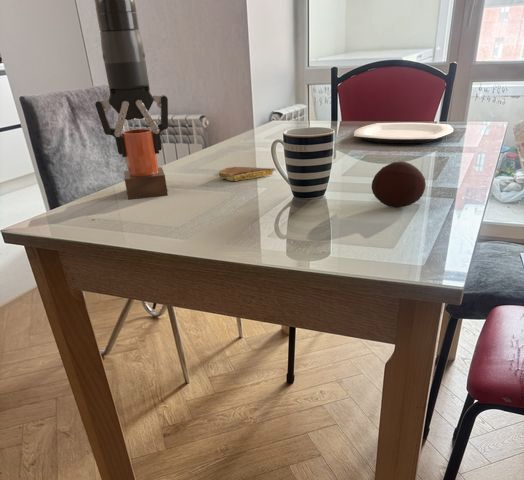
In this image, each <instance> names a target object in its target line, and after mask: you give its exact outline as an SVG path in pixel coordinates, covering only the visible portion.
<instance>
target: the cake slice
mask: <svg viewBox="0 0 524 480" xmlns="http://www.w3.org/2000/svg"><path fill="white" fill-rule="evenodd" d="M274 170H275V168H267V167H266V168H265V167H264V168H263V167H250V166H249V167H248V166H233V167H226V168H224V169H222V170H219V171H218V176H219V178H220V179H221V180H224V179H225V180H227V181H230V182H238V181H245V180H253V179H257V178H264V177H266V176H271V175H273V172H274Z"/></svg>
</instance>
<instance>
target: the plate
mask: <svg viewBox="0 0 524 480" xmlns="http://www.w3.org/2000/svg"><path fill="white" fill-rule="evenodd" d="M453 132H454V128H453V127H452V126H451V125H450V124H445V123H431V122H430V123H429V122H376V123H372V124H368V125H364V126H361V127H359V128H357V129H356V130H354V132H353V137H354V138H360V139H363V140H365V141H366V142H371V141H372V142H371V143H382V142H383V143H384V144H426V143H430V142H432V141H435V140H438V139H441V138H444V137H447V136H449V135H451V134H452V133H453ZM383 143H382V144H383Z"/></svg>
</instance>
